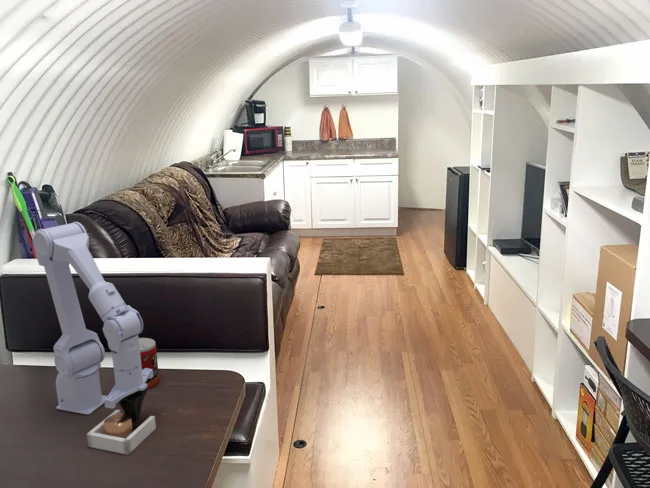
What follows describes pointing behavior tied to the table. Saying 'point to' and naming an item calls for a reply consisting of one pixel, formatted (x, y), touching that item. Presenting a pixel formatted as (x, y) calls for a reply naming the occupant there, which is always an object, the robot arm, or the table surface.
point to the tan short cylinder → (118, 425)
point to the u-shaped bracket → (117, 444)
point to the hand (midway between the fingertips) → (133, 420)
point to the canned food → (149, 359)
